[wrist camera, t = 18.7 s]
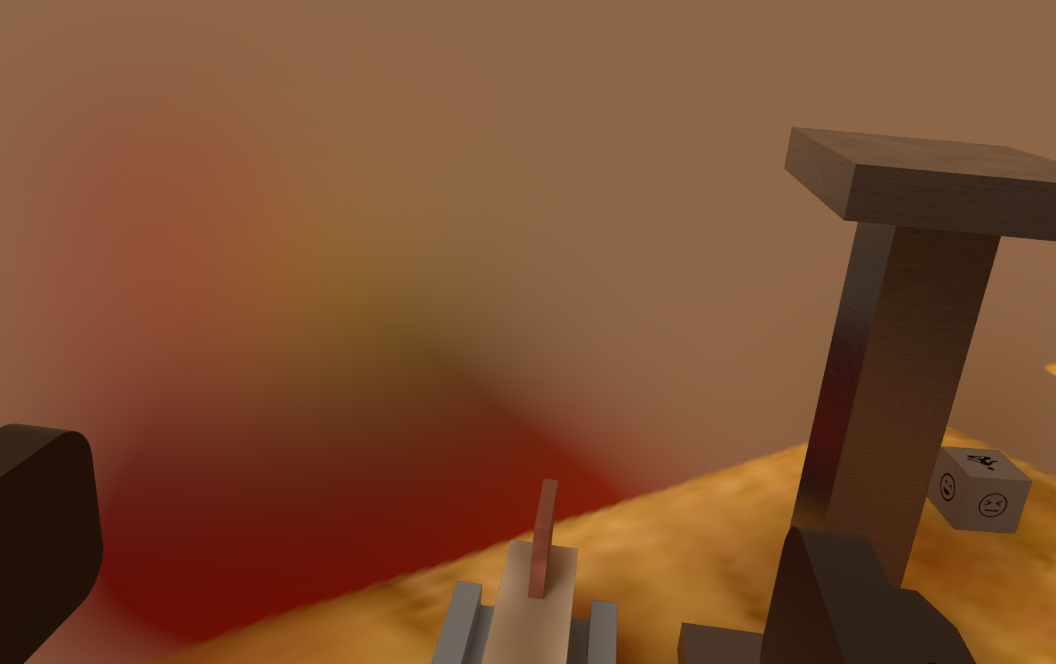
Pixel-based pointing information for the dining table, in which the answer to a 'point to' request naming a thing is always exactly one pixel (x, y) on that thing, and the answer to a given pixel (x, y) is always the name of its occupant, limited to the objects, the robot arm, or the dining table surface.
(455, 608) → the cradle
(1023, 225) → the pedestal
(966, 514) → the dice cube
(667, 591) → the dining table surface
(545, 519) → the tan wooden block
